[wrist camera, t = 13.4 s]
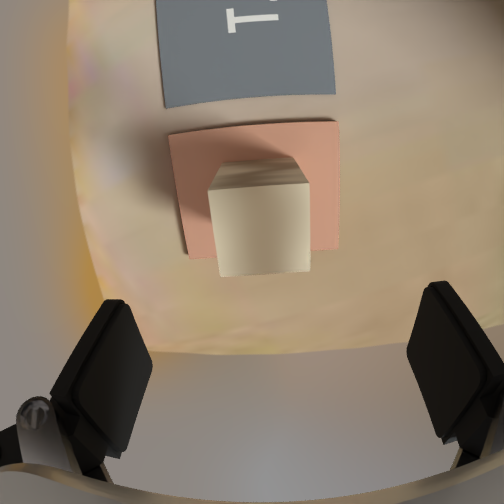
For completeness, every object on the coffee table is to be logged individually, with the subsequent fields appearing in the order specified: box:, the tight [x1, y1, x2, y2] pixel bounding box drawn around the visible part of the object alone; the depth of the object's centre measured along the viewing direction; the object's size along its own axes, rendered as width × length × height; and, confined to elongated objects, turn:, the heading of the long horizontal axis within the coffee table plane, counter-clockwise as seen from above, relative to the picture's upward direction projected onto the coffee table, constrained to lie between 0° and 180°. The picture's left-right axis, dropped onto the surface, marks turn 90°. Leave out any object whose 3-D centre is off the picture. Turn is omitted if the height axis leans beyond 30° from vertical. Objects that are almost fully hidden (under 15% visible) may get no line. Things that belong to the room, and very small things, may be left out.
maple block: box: [208, 157, 310, 277], centre depth 19 cm, size 5×5×7 cm
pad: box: [168, 121, 340, 259], centre depth 22 cm, size 12×10×1 cm
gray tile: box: [156, 0, 336, 109], centre depth 17 cm, size 12×12×1 cm
